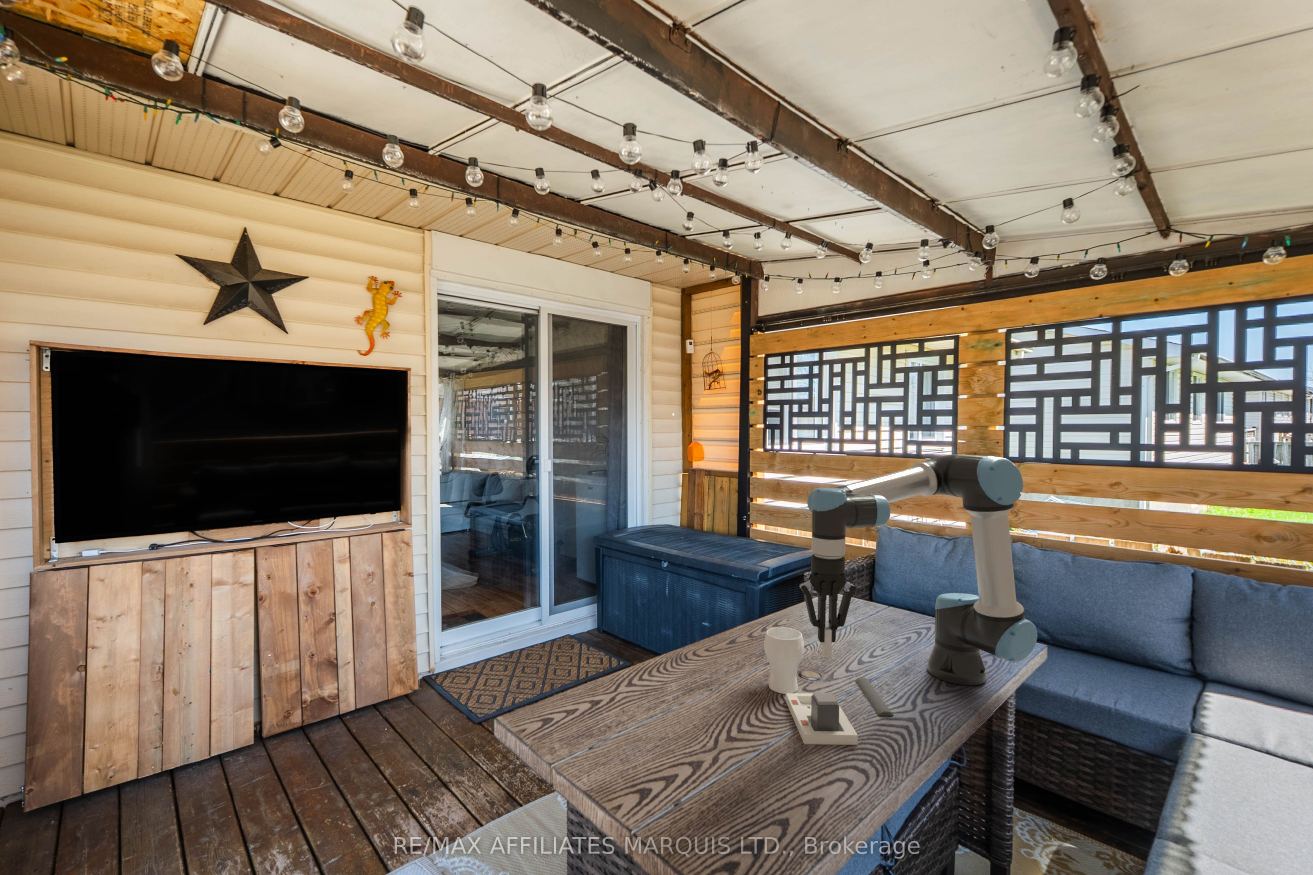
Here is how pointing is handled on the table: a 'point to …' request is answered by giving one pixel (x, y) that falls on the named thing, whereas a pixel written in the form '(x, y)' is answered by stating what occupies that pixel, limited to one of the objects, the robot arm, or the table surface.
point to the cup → (783, 658)
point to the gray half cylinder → (873, 697)
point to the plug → (824, 712)
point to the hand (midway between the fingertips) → (826, 655)
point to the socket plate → (802, 718)
